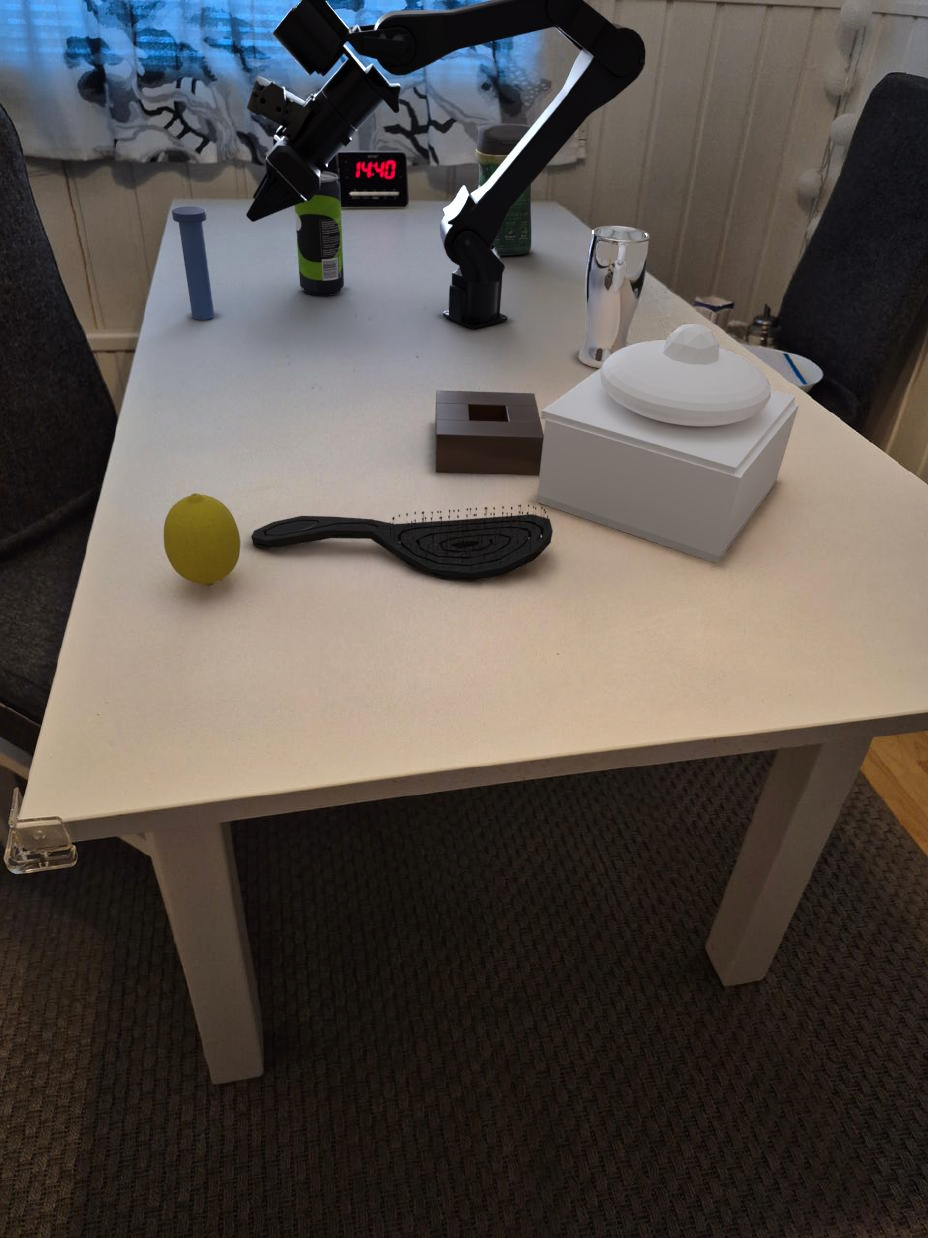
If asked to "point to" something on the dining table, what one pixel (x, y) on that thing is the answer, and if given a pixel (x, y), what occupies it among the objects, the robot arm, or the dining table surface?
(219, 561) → the lemon
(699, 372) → the white lidded box
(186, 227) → the peg
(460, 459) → the stand
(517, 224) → the coffee jar
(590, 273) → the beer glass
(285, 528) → the hairbrush
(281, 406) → the dining table surface
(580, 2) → the robot arm
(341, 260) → the beverage can
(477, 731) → the dining table surface
